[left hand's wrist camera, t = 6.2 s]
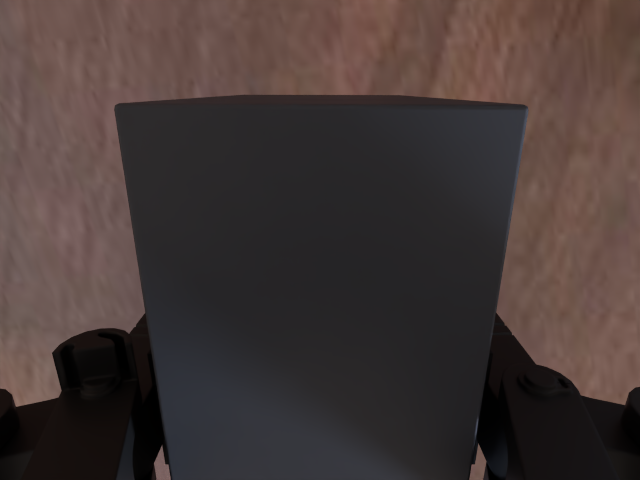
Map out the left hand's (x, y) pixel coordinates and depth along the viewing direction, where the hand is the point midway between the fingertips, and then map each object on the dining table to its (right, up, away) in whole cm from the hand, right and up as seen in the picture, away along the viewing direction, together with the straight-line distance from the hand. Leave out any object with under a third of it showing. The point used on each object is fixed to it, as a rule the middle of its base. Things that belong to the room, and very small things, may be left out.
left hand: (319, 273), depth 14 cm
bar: (0, -20, +8) cm, 21 cm away
